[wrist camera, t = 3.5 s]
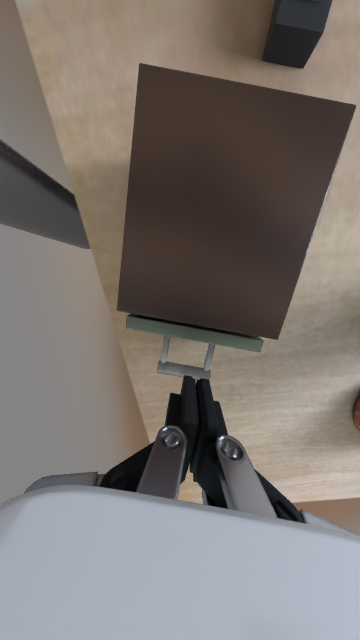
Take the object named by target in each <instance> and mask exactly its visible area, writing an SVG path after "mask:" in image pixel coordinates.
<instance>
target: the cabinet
mask: <svg viewBox="0 0 360 640" xmlns="http://www.w3.org/2000/svg"><path fill="white" fill-rule="evenodd" d="M355 109H356V105H353V104H348V103H343V102H338V101H333V100H328V99H322V98H317V97H312V96H307V95H302V94H297V93H291V92H286V91H281V90H276V89H271V88H266V87H260V86H255V85H250V84H245V83H240V82H235V81H230V80H224V79H219V78H214V77H209V76H204V75H199V74H193V73H188V72H183V71H178V70H173V69H168V68H162V67H157V66H152V65H147V64H142V63H140V64H139V73H138V84H137V95H136V106H135V117H134V128H133V139H132V150H131V161H130V172H129V183H128V194H127V205H126V216H125V227H124V238H123V249H122V260H121V271H120V282H119V293H118V304H117V311H122V312H127V313H133V314H138V315H144V316H149V317H155V318H160V319H166V320H171V321H177V322H182V323H188V324H193V325H199V326H204V327H210V328H215V329H221V330H226V331H232V332H237V333H243V334H248V335H254V336H259V337H265V338H270V339H276V340H278V337H279V334H280V331H281V328H282V325H283V322H284V320H285V317H286V314H287V311H288V308H289V305H290V302H291V299H292V296H293V293H294V290H295V287H296V284H297V281H298V278H299V275H300V272H301V269H302V266H303V263H304V260H305V257H306V254H307V251H308V248H309V245H310V242H311V239H312V236H313V233H314V230H315V227H316V224H317V221H318V218H319V216H320V213H321V210H322V207H323V204H324V201H325V198H326V195H327V192H328V189H329V186H330V183H331V180H332V177H333V174H334V171H335V168H336V165H337V162H338V159H339V156H340V153H341V150H342V147H343V144H344V141H345V138H346V135H347V132H348V129H349V126H350V123H351V120H352V117H353V114H354V112H355Z"/></svg>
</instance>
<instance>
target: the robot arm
mask: <svg viewBox="0 0 360 640" xmlns="http://www.w3.org/2000/svg"><path fill="white" fill-rule="evenodd" d="M189 463H190V472H191V473H193V481H194V482H198V484H199V485H200V486H201V488H202V498H203V504H204V505H203V504H198V503H192V502H187V501H181V500H177V499H178V493H179V487H180V484H181V483H182V482H183V481H184V480H185V477H186V473H187V471H188V467H189ZM0 640H360V536H358V535H357V534H355V533H353V532H352V531H350V530H348V529H346V528H343V527H341V526H339V525H336V524H334V523H332V522H330V521H327V520H325V519H323V518H321V517H318V516H316V515H314V514H312V513H309V512H307V511H305V510H302V509H301V510H300V512H299V511H298V510H297V509H296V508H295V507H294V505H293V504H292V503H291V502H290V501H289V500H288V499H287V498H286V497H285V496H283V495H282V494H281V493H280V492H279V491H278V490H277V489H276V488H275V487H274V486H273V485H272V484H270V483H269V482H268V481H267V480H266V479H265V478H264V477H263V476H262V475H261V474H260V473H259V472H257V471H256V470H255V469H254V467H253V465H252V463H251V461H250V459H249V457H248V455H247V453H246V451H245V449H244V447H243V445H242V444H241V443H240V442H239V441H238V440H237V439H235V438H234V437H232V436H229V435H228V433H227V429H226V425H225V422H224V418H223V414H222V410H221V406H220V403H219V402H218V401H213V396H212V392H211V387H210V382H209V379H204V378H200V380H198V379H197V382H196V383H195V379H193V377H192V376H188V375H184V379H183V384H182V389H181V394H175V393H170V398H169V403H168V409H167V415H166V421H165V426H164V427H162V428H161V429H160V430H159V432H158V434H157V437H156V440H155V441H154V442H153V443H151V444H150V445H148V446H147V447H145V448H144V449H142V450H140V451H139V452H137V453H136V454H134V455H133V456H131V457H129V458H128V459H126V460H125V461H123V462H121V463H120V464H119V465H117V466H115V467H114V468H112V469H111V470H109V472H107V473H106V474H99V475H98V472H87V473H75V474H63V475H51V476H46V477H43V478H41V479H39V480H37V481H35V482H34V483H33V484H32V485H30V486H29V487H28V488H27V489H26V491H25V492H24V493H23V494H21V495H18V496H16V497H14V498H11V499H9V500H7V501H5V502H3V503H1V504H0Z"/></svg>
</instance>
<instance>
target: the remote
mask: <svg viewBox="0 0 360 640" xmlns="http://www.w3.org/2000/svg"><path fill="white" fill-rule="evenodd" d="M331 3H332V0H275V5H274V9H273V14H272V18H271V23H270V27H269V32H268V36H267V41H266V45H265V50H264V54H263V61H269V62H274V63H279V64H284V65H289V66H294V67H299V68H304V66H305V64H306V62H307V61H308V59H309V57H310V55H311V54H312V52H313V50H314V48H315V46H316V45H317V43H318V41H319V39H320V37H321V36H322V34H323V32H324V28H325V24H326V21H327V17H328V14H329V10H330V6H331Z"/></svg>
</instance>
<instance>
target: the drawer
mask: <svg viewBox="0 0 360 640" xmlns="http://www.w3.org/2000/svg"><path fill="white" fill-rule="evenodd" d="M126 328H128V329H134V330H139V331H145V332H150V333H156V334H161V335H165V337H164V344H163V350H162V356H161V361H159V363H158V367H157V373H161V374H167V375H173V376H178V377H184V375H188V376H192V377H193V379H195V380H197V379H198V380H200V378H204V379H209V380H210V365H211V361H212V357H213V353H214V349H215V345H222V346H227V347H233V348H238V349H244V350H249V351H255V352H260V351H261V348H262V345H263V342H264V341H263V340H262V339H261V338H260V337H258V336H254V335H248V334H243V333H237V332H232V331H226V330H221V329H215V328H210V327H204V326H199V325H193V324H188V323H182V322H177V321H171V320H166V319H160V318H155V317H149V316H144V315H138V314H133V313H131V314H129V315H128V316H127V322H126ZM170 336H172V337H178V338H183V339H189V340H194V341H200V342H205V343H209V346H208V350H207V355H206V359H205V363H204V367H203V368H199V367H194V366H188V365H183V364H177V363H172V362H166V359H167V353H168V347H169V342H170Z"/></svg>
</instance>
